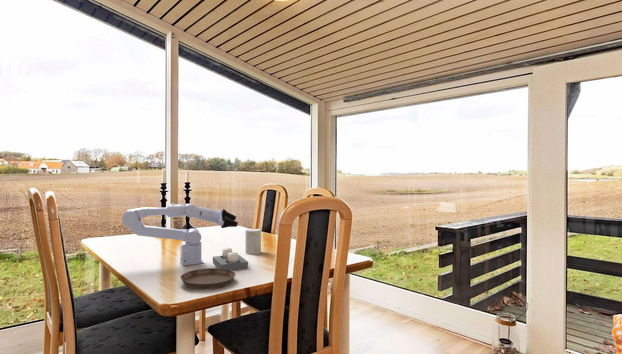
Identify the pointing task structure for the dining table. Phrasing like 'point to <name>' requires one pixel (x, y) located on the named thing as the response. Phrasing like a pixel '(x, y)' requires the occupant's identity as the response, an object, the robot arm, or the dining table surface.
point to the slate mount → (224, 264)
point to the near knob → (232, 257)
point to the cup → (253, 241)
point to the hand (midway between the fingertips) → (236, 221)
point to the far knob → (226, 252)
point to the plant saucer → (208, 278)
